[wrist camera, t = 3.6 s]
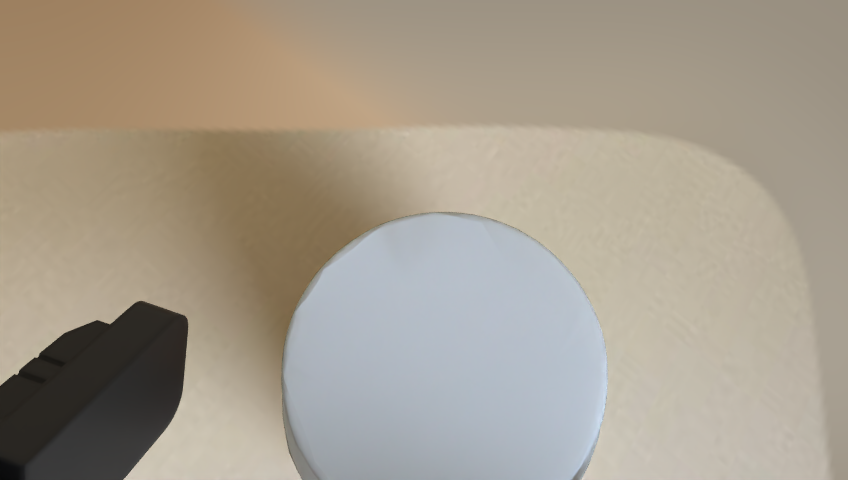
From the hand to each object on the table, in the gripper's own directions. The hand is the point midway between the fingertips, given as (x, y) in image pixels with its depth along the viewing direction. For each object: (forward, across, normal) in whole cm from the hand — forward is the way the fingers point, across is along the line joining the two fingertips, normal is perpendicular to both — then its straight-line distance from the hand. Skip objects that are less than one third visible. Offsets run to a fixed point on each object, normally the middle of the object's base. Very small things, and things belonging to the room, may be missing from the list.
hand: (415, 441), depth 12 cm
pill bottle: (+7, 0, +5) cm, 9 cm away
